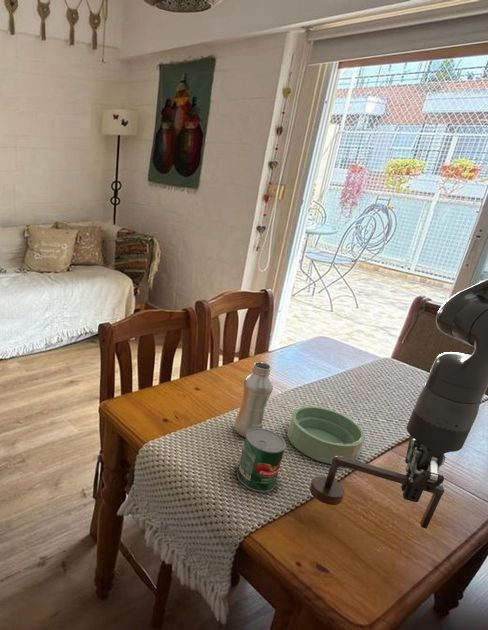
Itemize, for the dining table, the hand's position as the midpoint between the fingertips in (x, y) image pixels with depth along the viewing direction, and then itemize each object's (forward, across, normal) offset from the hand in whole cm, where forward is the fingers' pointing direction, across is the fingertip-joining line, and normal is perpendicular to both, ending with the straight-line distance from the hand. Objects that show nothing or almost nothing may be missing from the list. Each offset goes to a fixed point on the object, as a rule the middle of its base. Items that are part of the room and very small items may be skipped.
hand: (408, 495), depth 79 cm
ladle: (+6, 0, +5) cm, 8 cm away
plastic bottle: (+12, +21, +28) cm, 37 cm away
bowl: (+12, +26, +11) cm, 31 cm away
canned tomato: (+12, +5, +24) cm, 28 cm away
